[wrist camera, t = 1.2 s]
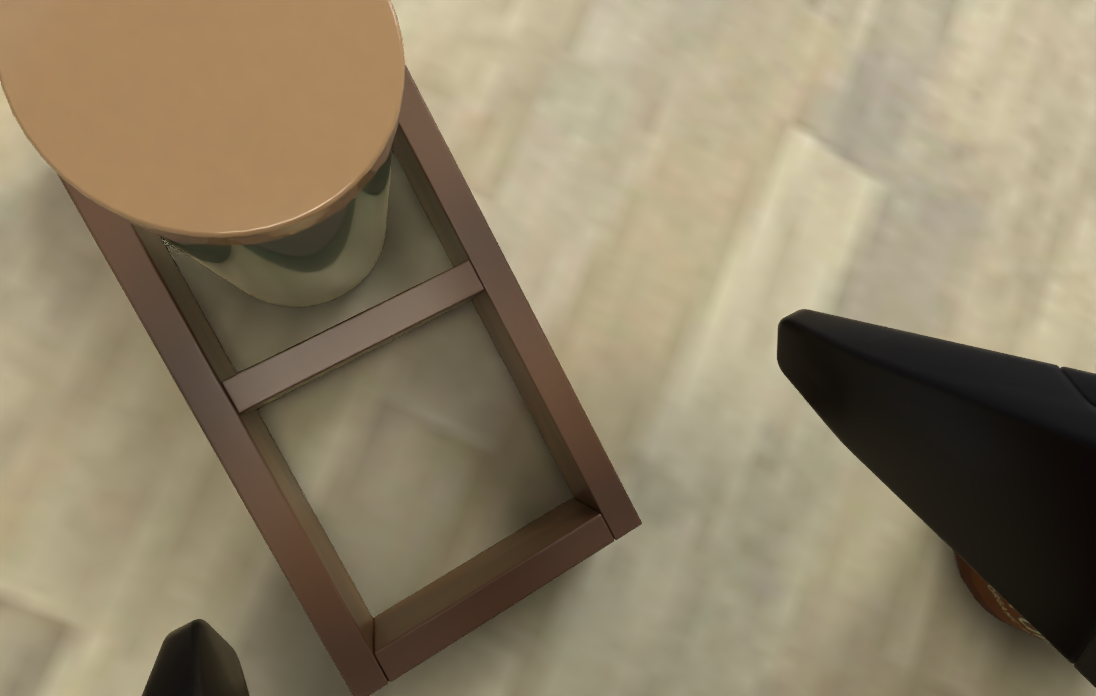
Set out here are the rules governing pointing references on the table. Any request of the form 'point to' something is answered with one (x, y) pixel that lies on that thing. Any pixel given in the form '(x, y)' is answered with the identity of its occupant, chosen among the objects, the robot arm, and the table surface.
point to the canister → (221, 126)
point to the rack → (232, 399)
